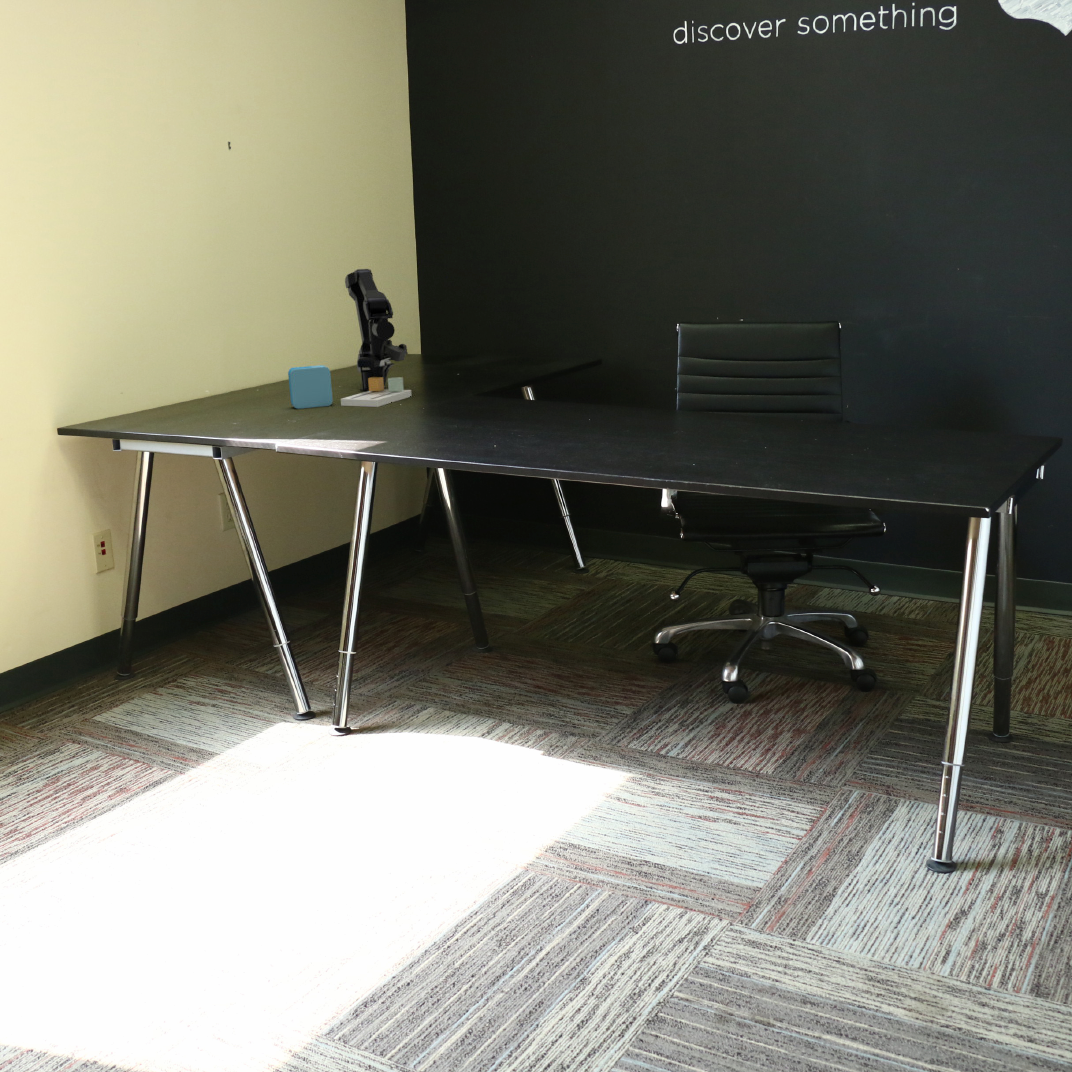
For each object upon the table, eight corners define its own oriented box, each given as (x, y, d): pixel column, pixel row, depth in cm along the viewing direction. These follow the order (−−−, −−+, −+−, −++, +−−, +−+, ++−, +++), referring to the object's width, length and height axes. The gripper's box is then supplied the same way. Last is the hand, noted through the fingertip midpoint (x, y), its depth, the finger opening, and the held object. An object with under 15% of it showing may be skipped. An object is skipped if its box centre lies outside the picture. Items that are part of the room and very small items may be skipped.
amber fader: (369, 390, 368) (368, 378, 367) (374, 389, 370) (373, 376, 369) (378, 391, 366) (377, 378, 365) (384, 389, 369) (383, 377, 368)
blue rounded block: (330, 403, 361) (326, 364, 358) (333, 405, 357) (329, 366, 354) (291, 407, 357) (287, 367, 354) (293, 409, 353) (289, 369, 350)
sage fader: (388, 391, 365) (387, 378, 364) (393, 389, 368) (392, 377, 367) (398, 391, 364) (397, 378, 362) (403, 390, 366) (402, 377, 365)
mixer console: (341, 405, 356) (340, 398, 356) (376, 395, 374) (375, 388, 373) (377, 406, 351) (377, 399, 350) (411, 396, 368) (411, 389, 368)
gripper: (385, 340, 356) (389, 391, 360) (416, 333, 372) (419, 382, 376) (354, 340, 360) (358, 391, 364) (385, 333, 376) (389, 382, 381)
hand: (382, 386), depth 371 cm, fingers closed
